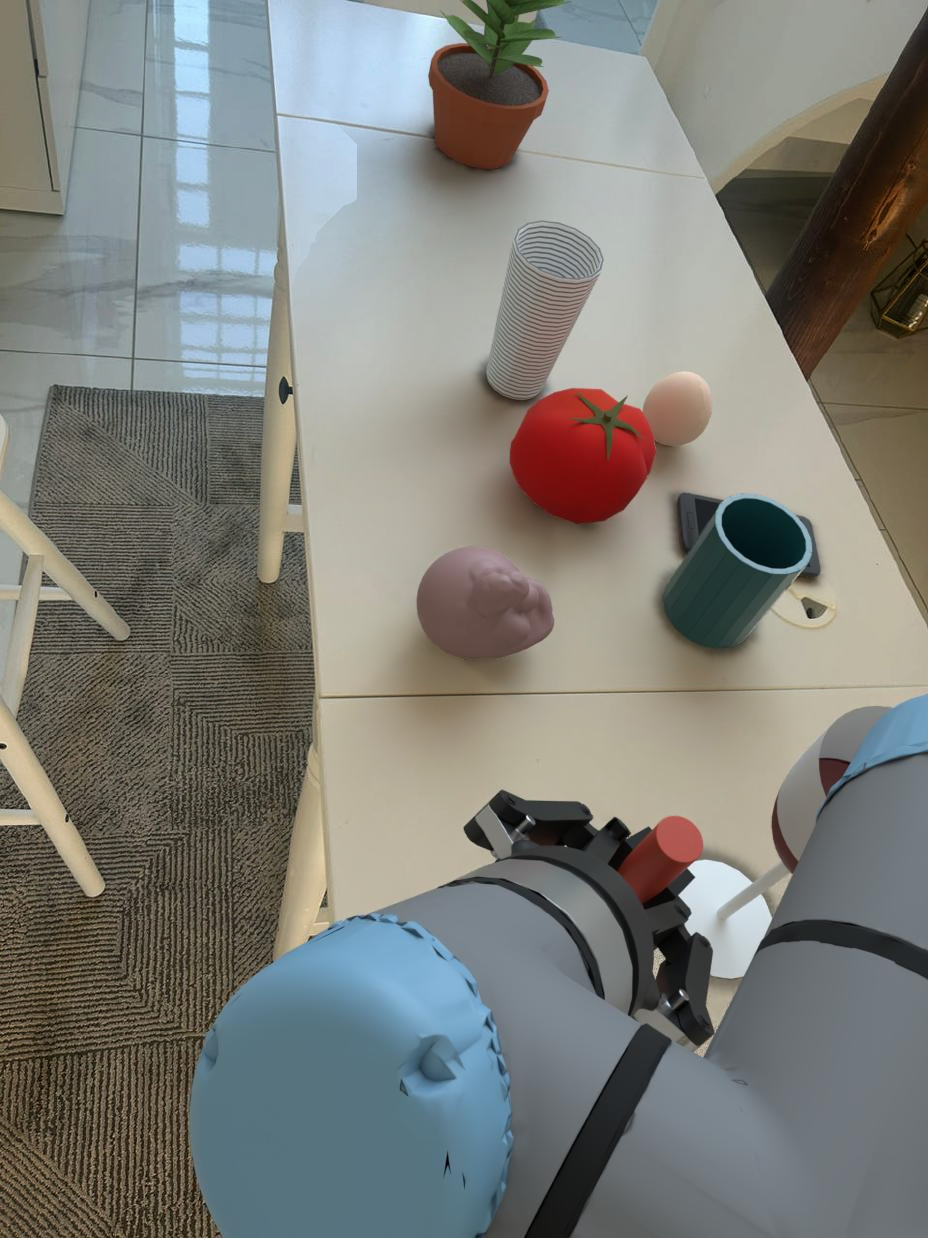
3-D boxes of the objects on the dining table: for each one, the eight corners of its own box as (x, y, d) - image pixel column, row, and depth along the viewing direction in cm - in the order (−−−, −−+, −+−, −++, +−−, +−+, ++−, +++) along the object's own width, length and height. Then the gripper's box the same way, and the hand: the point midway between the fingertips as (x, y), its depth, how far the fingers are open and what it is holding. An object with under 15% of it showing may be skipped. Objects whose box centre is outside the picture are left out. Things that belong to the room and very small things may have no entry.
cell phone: (675, 495, 95) (678, 490, 94) (807, 522, 97) (811, 517, 96) (681, 553, 91) (684, 548, 90) (819, 580, 93) (823, 575, 92)
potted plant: (390, 132, 121) (438, -157, 97) (467, 102, 129) (528, -172, 105) (480, 195, 117) (552, -89, 93) (553, 159, 126) (637, -110, 102)
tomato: (545, 560, 87) (583, 479, 78) (475, 462, 92) (504, 376, 83) (657, 521, 93) (704, 442, 84) (586, 431, 98) (623, 348, 89)
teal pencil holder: (768, 635, 88) (832, 560, 79) (695, 660, 84) (753, 584, 75) (717, 563, 91) (773, 484, 82) (645, 584, 88) (696, 504, 79)
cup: (565, 376, 102) (617, 247, 89) (535, 422, 97) (586, 292, 84) (493, 340, 102) (534, 207, 90) (459, 384, 97) (498, 250, 85)
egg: (675, 411, 103) (707, 352, 96) (704, 457, 99) (738, 399, 93) (621, 416, 100) (650, 356, 94) (648, 464, 97) (680, 405, 91)
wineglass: (629, 906, 70) (784, 764, 51) (715, 831, 75) (885, 677, 57) (720, 1014, 67) (919, 904, 49) (803, 927, 72) (1012, 799, 54)
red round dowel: (608, 946, 58) (713, 852, 46) (574, 962, 57) (673, 870, 45) (588, 909, 59) (686, 808, 47) (555, 924, 58) (646, 824, 46)
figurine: (541, 690, 79) (588, 605, 69) (405, 673, 77) (434, 582, 67) (537, 602, 84) (581, 511, 74) (410, 583, 82) (438, 487, 72)
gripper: (331, 866, 38) (522, 809, 60) (605, 1222, 33) (704, 1018, 55) (462, 732, 36) (608, 724, 58) (769, 1085, 31) (803, 931, 53)
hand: (654, 867), depth 56 cm, fingers closed on red round dowel, 2 cm apart
